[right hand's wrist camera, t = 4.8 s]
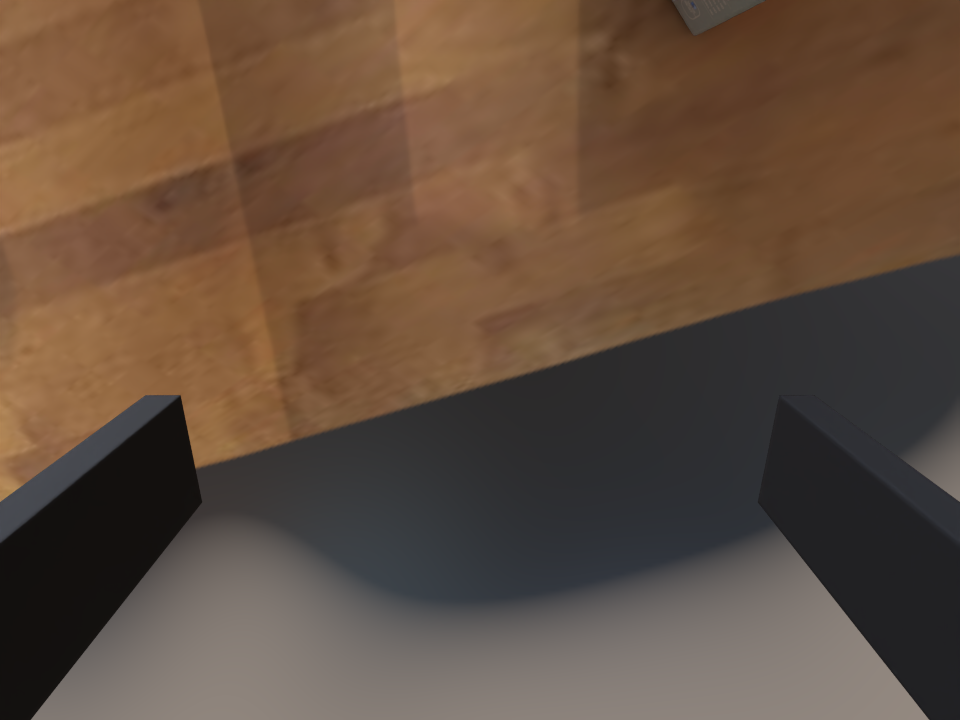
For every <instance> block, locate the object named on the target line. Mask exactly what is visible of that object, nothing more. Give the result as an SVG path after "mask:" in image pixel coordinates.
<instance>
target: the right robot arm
mask: <svg viewBox="0 0 960 720" xmlns="http://www.w3.org/2000/svg"><path fill="white" fill-rule="evenodd" d="M201 503H202V499H201V494H200V489H199V484H198V479H197V474H196V470H195V465H194V460H193V455H192V450H191V445H190V440H189V435H188V430H187V425H186V420H185V415H184V410H183V405H182V400H181V395H145V396H144V397H143V398H141V399H140V400H139V401H137V402H136V403H135V404H133V405H132V406H130V407H129V408H128V409H126V410H125V411H124V412H122V413H121V414H120V415H118V416H117V417H115V418H114V419H113V420H111V421H110V422H109V423H107V424H106V425H105V426H103V427H102V428H100V429H99V430H98V431H96V432H95V433H94V434H92V435H91V436H90V437H88V438H87V439H85V440H84V441H83V442H81V443H80V444H79V445H77V446H76V447H75V448H73V449H72V450H71V451H69V452H68V453H66V454H65V455H64V456H62V457H61V458H60V459H58V460H57V461H56V462H54V463H53V464H51V465H50V466H49V467H47V468H46V469H45V470H43V471H42V472H41V473H39V474H38V475H36V476H35V477H34V478H32V479H31V480H30V481H28V482H27V483H26V484H24V485H23V486H22V487H20V488H19V489H17V490H16V491H15V492H13V493H12V494H11V495H9V496H8V497H7V498H5V499H4V500H2V501H1V502H0V720H31V719H32V717H33V716H34V715H35V714H36V712H37V711H38V710H39V709H40V707H41V706H42V705H43V703H44V702H45V701H46V700H47V698H48V697H49V696H50V695H51V693H52V692H53V691H54V689H55V688H56V687H57V686H58V684H59V683H60V682H61V681H62V679H63V678H64V677H65V676H66V674H67V673H68V672H69V670H70V669H71V668H72V667H73V665H74V664H75V663H76V662H77V660H78V659H79V658H80V656H81V655H82V654H83V653H84V651H85V650H86V649H87V648H88V646H89V645H90V644H91V643H92V641H93V640H94V639H95V637H96V636H97V635H98V634H99V632H100V631H101V630H102V629H103V627H104V626H105V625H106V624H107V622H108V621H109V620H110V618H111V617H112V616H113V615H114V613H115V612H116V611H117V610H118V608H119V607H120V606H121V604H122V603H123V602H124V601H125V599H126V598H127V597H128V596H129V594H130V593H131V592H132V591H133V589H134V588H135V587H136V585H137V584H138V583H139V582H140V580H141V579H142V578H143V577H144V575H145V574H146V573H147V572H148V570H149V569H150V568H151V566H152V565H153V564H154V563H155V561H156V560H157V559H158V558H159V556H160V555H161V554H162V552H163V551H164V550H165V549H166V547H167V546H168V545H169V544H170V542H171V541H172V540H173V538H174V537H175V536H176V535H177V533H178V532H179V531H180V530H181V528H182V527H183V526H184V525H185V523H186V522H187V521H188V520H189V518H190V517H191V516H192V514H193V513H194V512H195V511H196V509H197V508H198V507H199V506H200V504H201ZM758 503H759V504H760V506H761V507H762V508H763V509H764V511H765V512H766V513H767V514H768V516H769V517H770V518H771V520H772V521H773V522H774V523H775V525H776V526H777V527H778V528H779V530H780V531H781V532H782V533H783V535H784V536H785V537H786V539H787V540H788V541H789V542H790V543H791V545H792V546H793V547H794V549H795V550H796V551H797V552H798V554H799V555H800V556H801V558H802V559H803V560H804V561H805V563H806V564H807V565H808V566H809V568H810V569H811V570H812V571H813V573H814V574H815V575H816V577H817V578H818V579H819V580H820V582H821V583H822V584H823V585H824V587H825V588H826V589H827V591H828V592H829V593H830V594H831V596H832V597H833V598H834V599H835V601H836V602H837V603H838V604H839V606H840V607H841V608H842V610H843V611H844V612H845V613H846V615H847V616H848V617H849V618H850V620H851V621H852V622H853V624H854V625H855V626H856V627H857V629H858V630H859V631H860V632H861V634H862V635H863V636H864V637H865V639H866V640H867V641H868V643H869V644H870V645H871V646H872V648H873V649H874V650H875V651H876V653H877V654H878V655H879V657H880V658H881V659H882V660H883V662H884V663H885V664H886V665H887V667H888V668H889V669H890V670H891V672H892V673H893V674H894V676H895V677H896V678H897V679H898V681H899V682H900V683H901V684H902V686H903V687H904V688H905V689H906V691H907V692H908V693H909V695H910V696H911V697H912V698H913V700H914V701H915V702H916V703H917V705H918V706H919V707H920V708H921V710H922V711H923V712H924V714H925V715H926V716H927V717H928V719H929V720H960V502H959V501H958V500H956V499H955V498H953V497H952V496H951V495H949V494H948V493H947V492H945V491H944V490H943V489H941V488H940V487H938V486H937V485H936V484H934V483H933V482H932V481H930V480H929V479H928V478H926V477H925V476H923V475H922V474H921V473H919V472H918V471H917V470H915V469H914V468H913V467H911V466H910V465H909V464H907V463H906V462H904V461H903V460H902V459H900V458H899V457H898V456H896V455H895V454H894V453H892V452H891V451H889V450H888V449H887V448H885V447H884V446H883V445H881V444H880V443H879V442H877V441H876V440H874V439H873V438H872V437H870V436H869V435H868V434H866V433H865V432H863V431H862V430H861V429H859V428H858V427H857V426H855V425H854V424H853V423H851V422H850V421H849V420H847V419H846V418H844V417H843V416H842V415H840V414H839V413H838V412H836V411H835V410H834V409H832V408H831V407H830V406H828V405H827V404H825V403H824V402H823V401H821V400H820V399H819V398H817V397H816V396H815V395H780V396H779V400H778V405H777V410H776V415H775V420H774V425H773V430H772V435H771V440H770V445H769V450H768V455H767V460H766V465H765V470H764V474H763V480H762V484H761V489H760V494H759V499H758Z"/></svg>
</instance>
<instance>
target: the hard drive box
mask: <svg viewBox="0 0 960 720" xmlns="http://www.w3.org/2000/svg"><path fill="white" fill-rule="evenodd" d="M672 1H673V3H674V5H675V6H676V8H677V10H678V11H679V13H680V15H681V16H682V18H683V20H684V21H685V23H686V25H687V26H688V28H689V30H690V31H691V33H692V34H693V35H695V36H696V35H698V34H700V33H702V32H704V31H706V30H708V29H711V28H713V27H715V26H717V25H719V24H721V23H723V22H725V21H727V20H729V19H730V18H732V17H734V16H736V15H738V14H740V13H742V12H744V11H746V10H748V9H750V8H752V7H754V6H756V5H758V4H760V3H762V2H764V1H765V0H672Z"/></svg>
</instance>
